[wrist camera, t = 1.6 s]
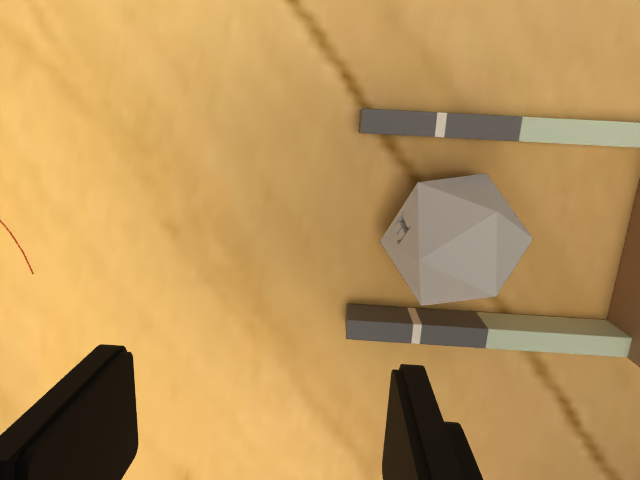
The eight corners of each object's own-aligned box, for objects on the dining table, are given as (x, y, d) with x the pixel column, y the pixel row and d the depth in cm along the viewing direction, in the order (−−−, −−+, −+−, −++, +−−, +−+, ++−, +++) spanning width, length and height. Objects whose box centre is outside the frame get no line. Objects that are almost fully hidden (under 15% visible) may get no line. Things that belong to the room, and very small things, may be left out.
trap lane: (667, 125, 30) (730, 125, 25) (615, 338, 34) (661, 373, 29) (360, 110, 31) (364, 107, 26) (345, 321, 35) (346, 352, 30)
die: (466, 143, 32) (398, 157, 25) (571, 219, 29) (528, 260, 21) (409, 228, 36) (338, 260, 29) (493, 301, 33) (438, 356, 26)
